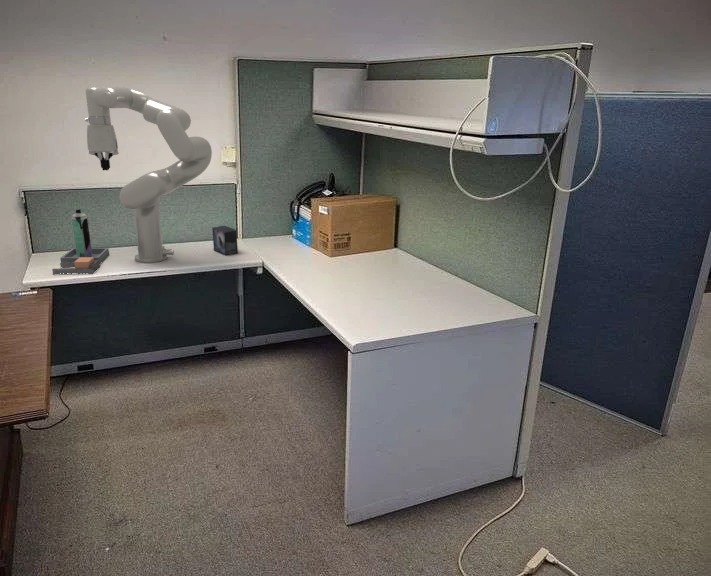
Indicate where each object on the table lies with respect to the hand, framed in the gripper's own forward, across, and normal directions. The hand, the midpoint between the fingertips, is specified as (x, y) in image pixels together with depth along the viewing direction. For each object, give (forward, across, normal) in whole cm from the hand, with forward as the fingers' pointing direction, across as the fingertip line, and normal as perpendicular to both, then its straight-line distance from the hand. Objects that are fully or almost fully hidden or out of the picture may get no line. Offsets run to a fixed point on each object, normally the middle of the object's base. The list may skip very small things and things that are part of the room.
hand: (105, 169), depth 217 cm
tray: (+35, -10, -6) cm, 37 cm away
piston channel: (+35, -9, -20) cm, 41 cm away
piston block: (+35, -6, -20) cm, 41 cm away
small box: (+35, +44, +4) cm, 57 cm away
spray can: (+35, -10, -6) cm, 37 cm away
